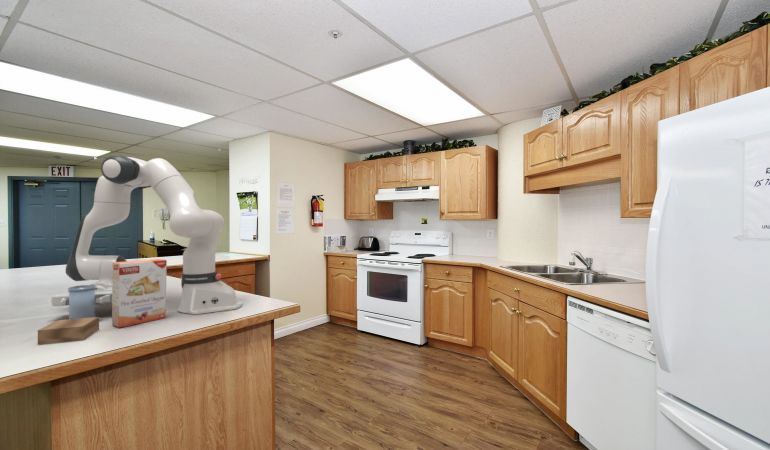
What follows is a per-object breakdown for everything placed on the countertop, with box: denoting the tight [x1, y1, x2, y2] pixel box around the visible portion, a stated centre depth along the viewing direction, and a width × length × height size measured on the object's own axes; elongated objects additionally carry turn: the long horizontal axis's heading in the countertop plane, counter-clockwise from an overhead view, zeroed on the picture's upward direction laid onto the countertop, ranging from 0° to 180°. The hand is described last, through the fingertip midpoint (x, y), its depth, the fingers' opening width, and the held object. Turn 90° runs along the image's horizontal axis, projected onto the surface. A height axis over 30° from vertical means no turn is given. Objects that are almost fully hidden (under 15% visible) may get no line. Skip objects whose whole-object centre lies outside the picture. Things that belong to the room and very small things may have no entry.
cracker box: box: [111, 258, 167, 329], centre depth 111 cm, size 14×6×21 cm, turn 148°
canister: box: [67, 284, 96, 319], centre depth 110 cm, size 7×7×12 cm
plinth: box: [37, 316, 100, 345], centre depth 97 cm, size 10×10×4 cm
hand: (81, 302), depth 110 cm, fingers open, 8 cm apart
